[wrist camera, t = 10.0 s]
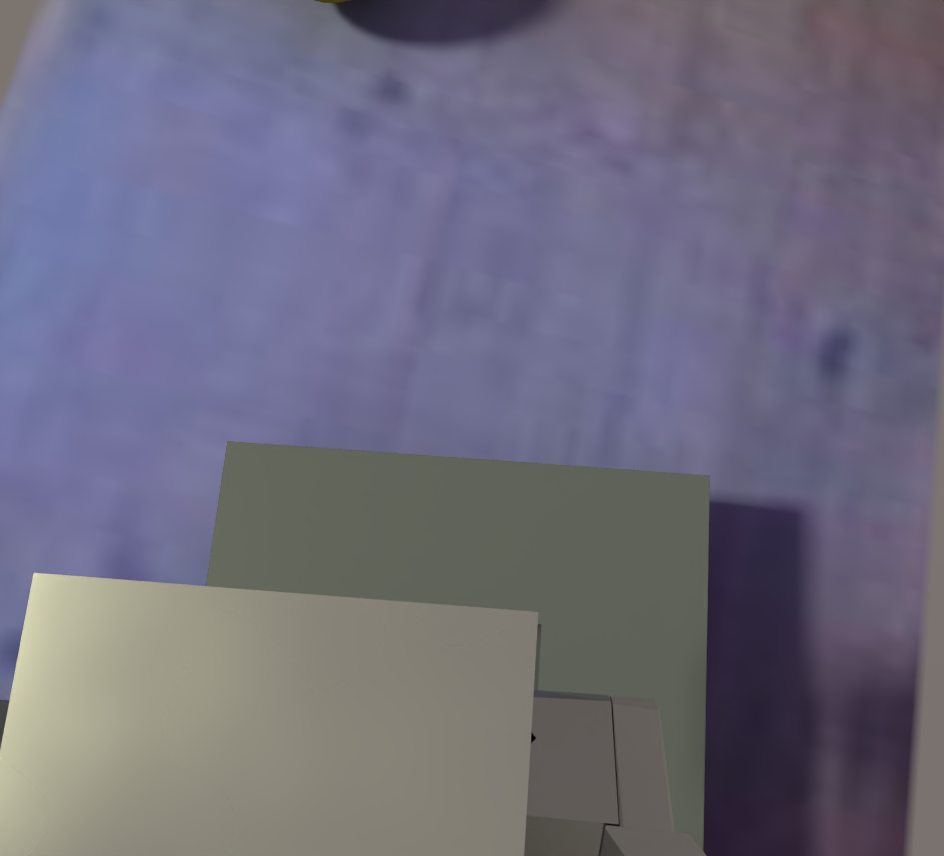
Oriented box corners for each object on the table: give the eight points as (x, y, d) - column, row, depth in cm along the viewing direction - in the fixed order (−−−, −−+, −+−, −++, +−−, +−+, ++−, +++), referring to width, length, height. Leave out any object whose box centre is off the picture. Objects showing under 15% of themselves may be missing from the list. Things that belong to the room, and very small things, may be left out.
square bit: (507, 840, 15) (503, 1225, 5) (302, 822, 15) (-79, 1159, 5) (520, 628, 16) (537, 612, 6) (326, 613, 16) (33, 572, 6)
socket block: (670, 971, 26) (699, 1031, 22) (200, 924, 26) (148, 972, 23) (682, 497, 29) (709, 475, 25) (263, 467, 30) (227, 441, 26)
